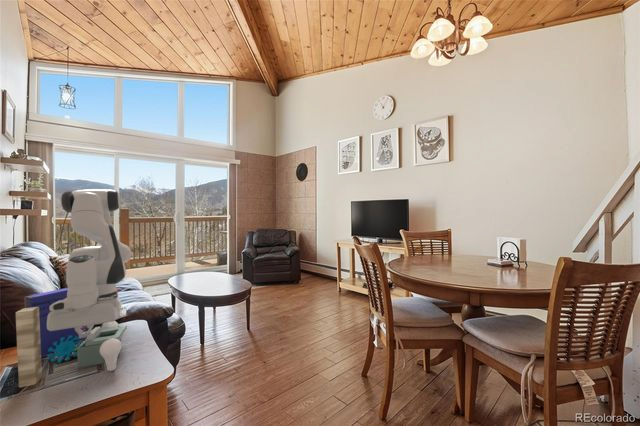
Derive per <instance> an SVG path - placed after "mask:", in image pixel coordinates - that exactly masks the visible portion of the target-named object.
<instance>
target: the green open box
mask: <svg viewBox="0 0 640 426" xmlns="http://www.w3.org/2000/svg"><path fill="white" fill-rule="evenodd" d="M115 334H116V333H112V334H106V335H100V337H99V338H101V337H106V336H112V335H115ZM87 340H88V337H87V339H86V340H85V341H84V342H82V344H79V345H78V346H79V347H78V348H77V355H76V357H77V369H79V368H85V367H89V366H94V365H95V366H96V365H99V364H100V365H101V364H106V362H105V359H104V358H103V357H102V356H101V354H100V347H101V345H102V344H103V343H101V344H96V345H90V346H85V342H86V341H87ZM119 341H120V342H121V343H122V338H120V339H119Z"/></svg>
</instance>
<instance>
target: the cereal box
mask: <svg viewBox="0 0 640 426" xmlns="http://www.w3.org/2000/svg"><path fill="white" fill-rule="evenodd" d="M67 292H68V287H65V288H61V289H60V288H59V289H56V290H51V291H46V292H42V293H35V294H31V295H28V296H27V295H26V296H24V308H32V307H39V319H40V342H41V358H43V357H45V356H48V354H54V353H55V352H49V351H48V349H49V348H50V347H52V348H53V350H54V349H56V346H54V345H53V343H54V342H56V341H57V342H58V344H57V345H59V344H60V343H61V340H60V338H62V337H65V340H64V341H63V342H65V341H66V340H67V339H68V336H69V335H71V336H73V338H72V339H70V340H69V341H71V340H73V339H74V338H75V337H76V336H77V337H78V338H79V334H78V333H77V332H76V331H75V327H74V328H68V329H61V330H55V331H49V330H48V329H47V317H48V314H49V313H50V312H51V311H50V309H49V307H50V305H52V304H53V303H55V302H57V301H59V300H62V299H64V298H67ZM80 329H81V330H82V331H83V332H87V331H88V328H87V326H82V327H81V328H80ZM87 338H88V337H87ZM87 338H81V339H79V340H81V341H82V343H83V341H85V340H86V339H87ZM79 340H75V341H73V342H78V341H79Z"/></svg>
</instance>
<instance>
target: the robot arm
mask: <svg viewBox="0 0 640 426" xmlns="http://www.w3.org/2000/svg"><path fill="white" fill-rule="evenodd" d="M121 204H122V199H121V196H120V193H119V192H118V191H117V190H114V189H110V188H109V189H101V188H100V189H98V188H96V189H95V188H92V189H91V188H90V189H77V190H66V191H64V192H63V193H62V194H61V197H60V205H61V207H62V210H63V211H65V212H66V213H70V225H71V229H72V230H73V231H74V232H75V233H77V234H78V235H81V236H82V237H85V238H87V240H90V241H92V242H95V243H98V244H99V245H92V246H82V247H79V248H78V247H77V248H75V249H73V250H72V251H71V252H70V254H69V258H68V259H67V264H66V270H65V271H64V284H65V285H66V286H67V288H68V292H67V298H64V299H62V300H59V301H57V302H55V303H53V304H52V305H50V307H49V309H50V311H51V312H50V313H49V314H48V317H47V329H48V330H49V331H55V330H61V329H68V328H74V327H75V331H76V332H77V333H78V334H79V339H81V338H88V334H89V333H90V332H91V331H92V330H93V329H94V325H95V326H96V325H102V324H103V323H107V322H113V321H116V320H119V319H122V318H124V317H125V318H126V316H127V311H126V309H127V308H126V309H123V308H124V307H123V306H122V305H123V304H122V300H121V299H120V298H119V293H118V292H119V290H118V289H117V284H118V283H120V282H121V281H123V279H125V278H126V275H127V270H126V268H127V267H126V265H125V264H126V263H128V262H129V261H130V260H131V258H132V250H131V248H130V247H129V246H128V245H126V244H124V243H122V242H121V241H120V240H119V239H117V236H116V232H115V230H114V229H115V228H114V227H113V224H112V217H111V213H110V212H114V211H117V210H118V209H119V208H120V206H121ZM82 326H86V328H87V332H83V331H82V330H81V329H80V328H81V327H82Z"/></svg>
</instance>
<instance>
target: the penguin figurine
mask: <svg viewBox="0 0 640 426" xmlns="http://www.w3.org/2000/svg"><path fill="white" fill-rule="evenodd" d="M100 327H101V330H103V329H109V328H115V327H119V323H118V322H117V321H116V320H114V321H113V322H107V323H103V324H101V326H100Z"/></svg>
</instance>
